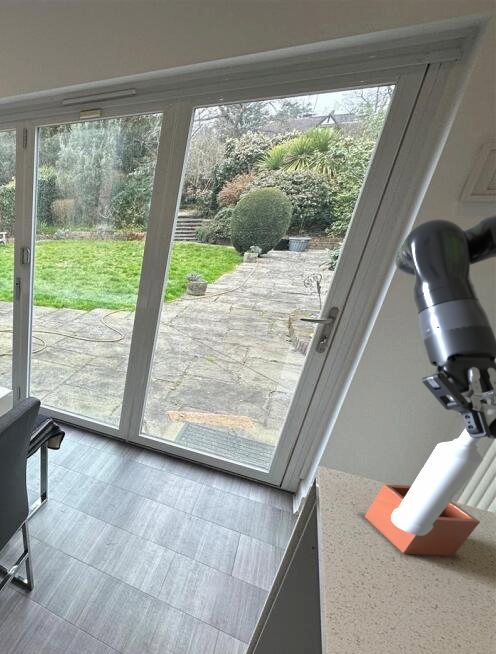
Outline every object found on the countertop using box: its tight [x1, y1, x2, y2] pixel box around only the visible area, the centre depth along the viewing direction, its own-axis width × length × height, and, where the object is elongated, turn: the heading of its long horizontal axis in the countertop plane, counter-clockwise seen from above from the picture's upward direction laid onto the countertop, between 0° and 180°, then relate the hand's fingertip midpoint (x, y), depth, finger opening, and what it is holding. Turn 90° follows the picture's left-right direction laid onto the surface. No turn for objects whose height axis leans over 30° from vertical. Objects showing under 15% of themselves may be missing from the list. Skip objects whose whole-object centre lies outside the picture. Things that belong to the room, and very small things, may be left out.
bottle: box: [391, 403, 496, 536], centre depth 68 cm, size 5×5×25 cm
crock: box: [364, 483, 481, 557], centre depth 81 cm, size 10×10×9 cm
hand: (489, 436), depth 62 cm, fingers closed on bottle, 2 cm apart
